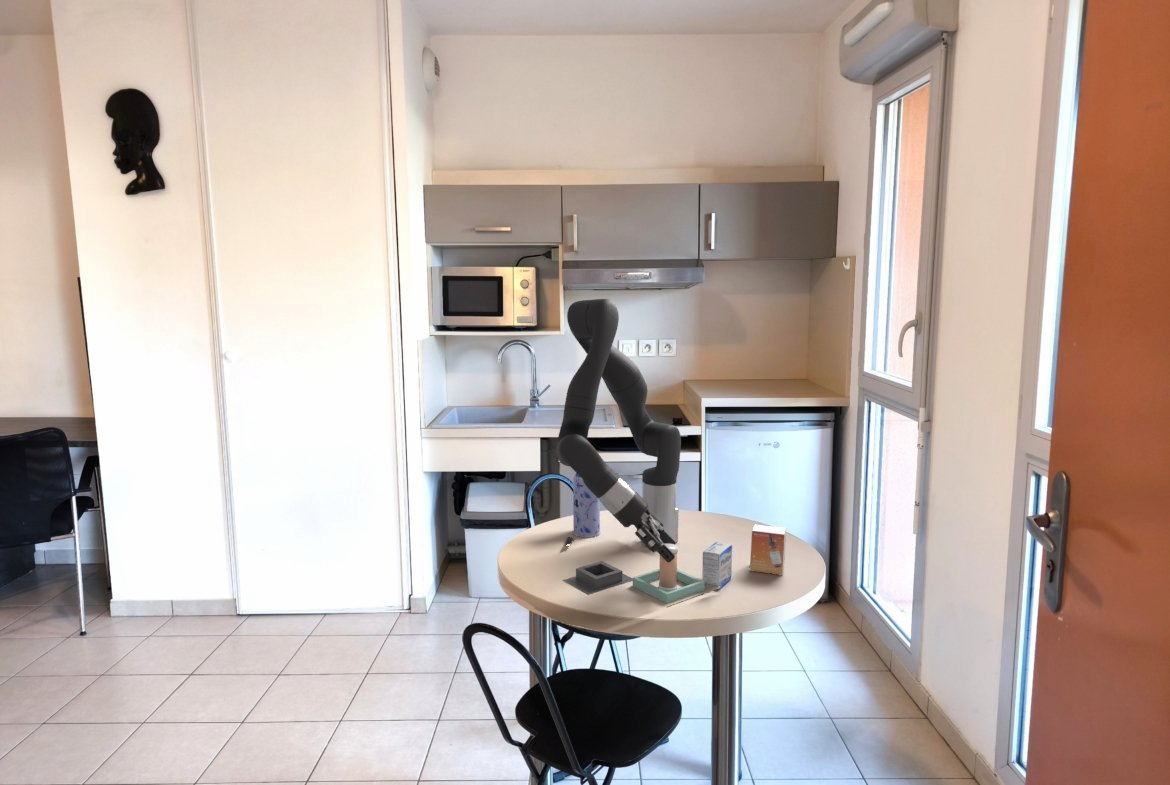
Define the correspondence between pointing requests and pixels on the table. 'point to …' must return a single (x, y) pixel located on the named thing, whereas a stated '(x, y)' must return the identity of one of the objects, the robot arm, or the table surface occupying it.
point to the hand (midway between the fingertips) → (672, 552)
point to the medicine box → (717, 564)
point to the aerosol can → (585, 510)
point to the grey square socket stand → (597, 578)
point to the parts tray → (692, 588)
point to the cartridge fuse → (668, 571)
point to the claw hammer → (568, 541)
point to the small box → (768, 549)
